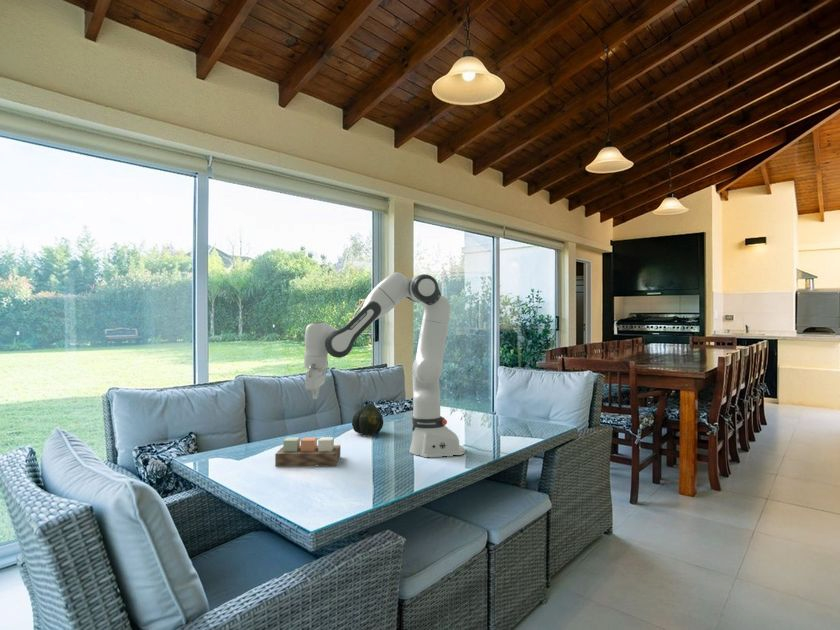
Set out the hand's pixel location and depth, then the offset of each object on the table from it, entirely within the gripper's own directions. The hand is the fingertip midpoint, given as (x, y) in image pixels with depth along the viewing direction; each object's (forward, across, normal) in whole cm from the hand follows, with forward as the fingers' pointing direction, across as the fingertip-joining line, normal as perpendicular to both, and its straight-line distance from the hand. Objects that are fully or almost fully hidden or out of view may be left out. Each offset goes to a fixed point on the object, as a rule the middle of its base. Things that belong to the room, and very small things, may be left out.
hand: (315, 398), depth 191 cm
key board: (+23, -5, +1) cm, 23 cm away
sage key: (+20, -5, +8) cm, 21 cm away
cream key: (+19, -5, -5) cm, 21 cm away
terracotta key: (+19, -5, +1) cm, 20 cm away
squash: (+23, +40, -16) cm, 49 cm away
